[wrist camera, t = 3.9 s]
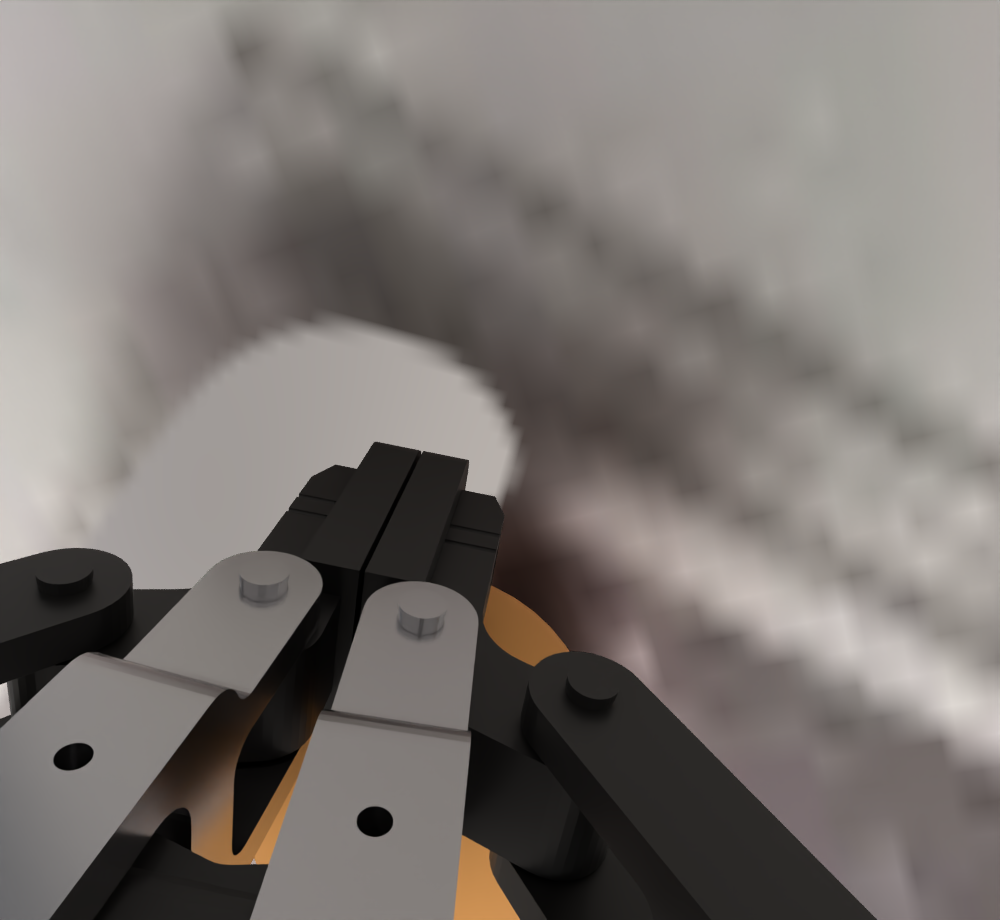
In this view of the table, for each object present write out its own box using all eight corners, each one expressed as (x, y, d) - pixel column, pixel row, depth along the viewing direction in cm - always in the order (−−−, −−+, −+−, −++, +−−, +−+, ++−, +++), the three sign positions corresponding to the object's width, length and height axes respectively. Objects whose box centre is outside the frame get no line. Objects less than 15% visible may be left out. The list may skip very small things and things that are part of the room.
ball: (225, 537, 11) (129, 1006, 10) (657, 606, 11) (596, 1083, 10) (317, 552, 17) (260, 851, 16) (599, 597, 17) (558, 900, 16)
